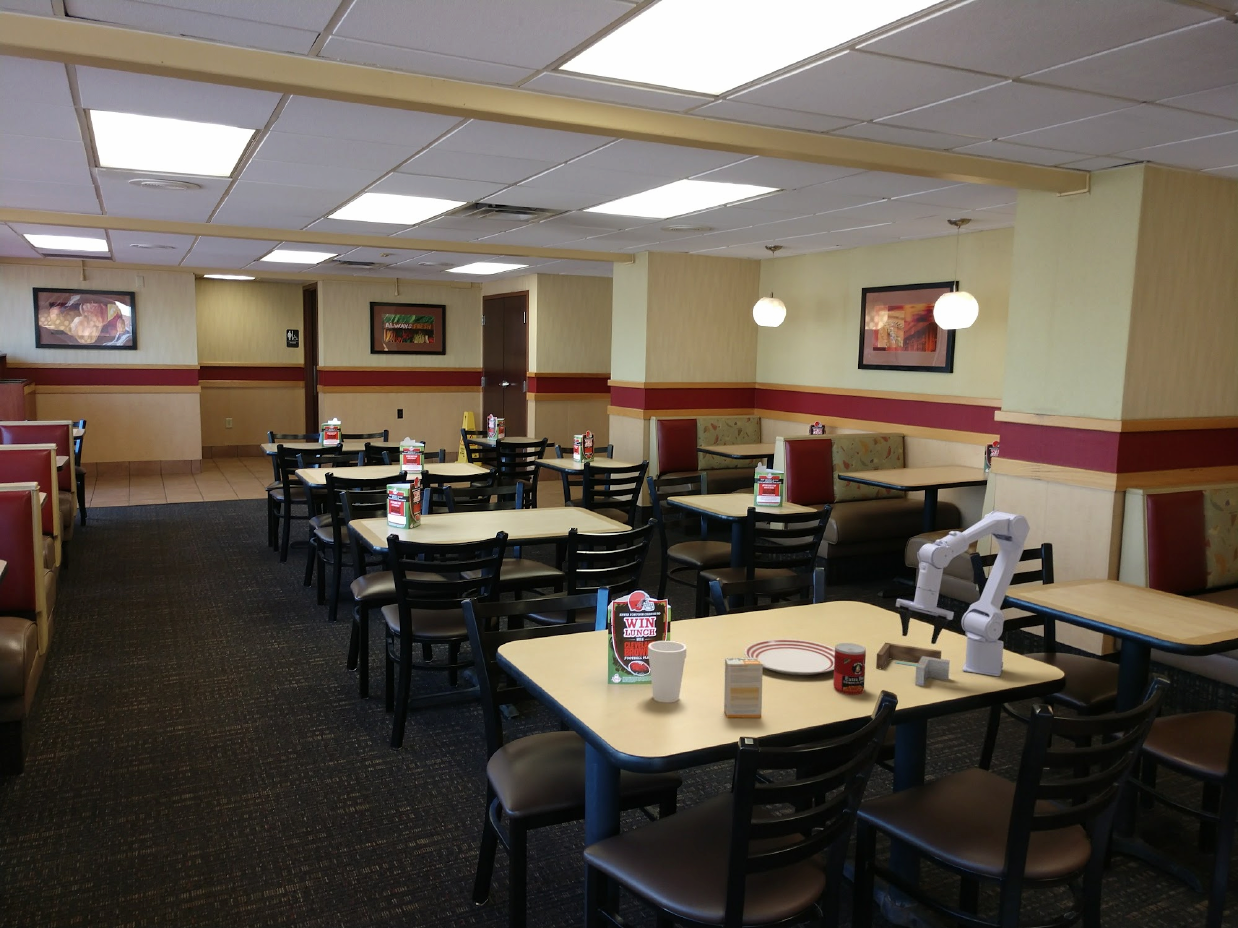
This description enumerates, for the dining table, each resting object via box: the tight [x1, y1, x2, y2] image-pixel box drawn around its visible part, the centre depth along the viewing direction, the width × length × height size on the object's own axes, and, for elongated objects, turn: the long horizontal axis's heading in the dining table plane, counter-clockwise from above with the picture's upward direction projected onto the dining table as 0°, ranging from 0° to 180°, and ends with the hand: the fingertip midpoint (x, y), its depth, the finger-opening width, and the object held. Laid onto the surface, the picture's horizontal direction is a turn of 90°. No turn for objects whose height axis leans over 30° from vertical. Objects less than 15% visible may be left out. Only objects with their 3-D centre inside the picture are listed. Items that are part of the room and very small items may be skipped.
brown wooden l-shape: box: [875, 642, 942, 670], centre depth 247 cm, size 15×12×4 cm
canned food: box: [833, 642, 867, 695], centre depth 227 cm, size 8×8×11 cm
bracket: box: [914, 656, 951, 687], centre depth 234 cm, size 10×7×5 cm
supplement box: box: [723, 657, 764, 719], centre depth 209 cm, size 8×5×13 cm, turn 92°
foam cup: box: [647, 640, 687, 704], centre depth 219 cm, size 10×9×13 cm
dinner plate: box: [744, 638, 835, 676], centre depth 247 cm, size 28×27×3 cm
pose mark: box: [894, 660, 918, 667], centre depth 246 cm, size 9×7×1 cm
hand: (918, 639), depth 237 cm, fingers open, 7 cm apart
